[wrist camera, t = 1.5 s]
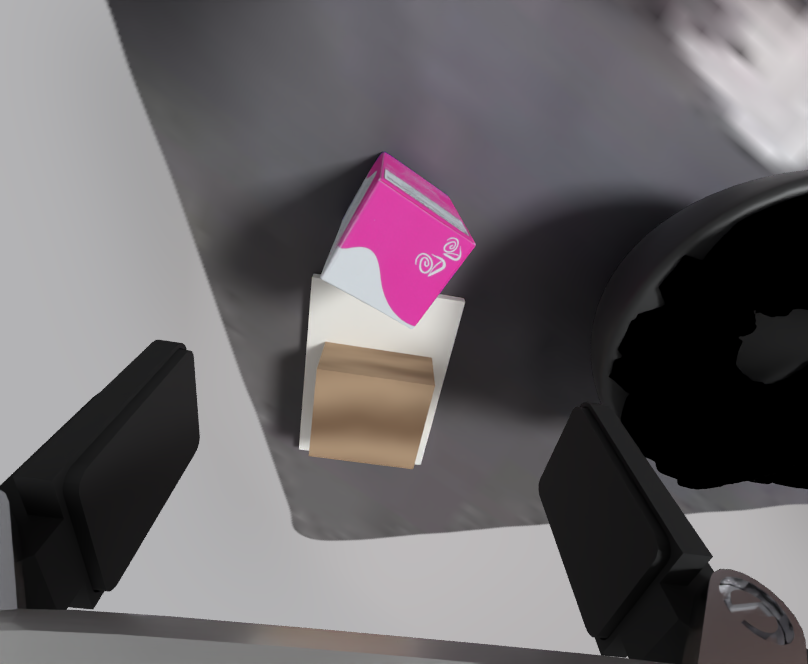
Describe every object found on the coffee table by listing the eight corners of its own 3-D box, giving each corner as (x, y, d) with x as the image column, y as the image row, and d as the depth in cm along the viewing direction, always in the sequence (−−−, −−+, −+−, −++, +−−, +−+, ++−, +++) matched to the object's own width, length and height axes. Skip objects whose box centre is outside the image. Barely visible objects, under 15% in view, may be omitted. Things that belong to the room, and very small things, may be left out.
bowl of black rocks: (880, 222, 31) (1433, 362, 14) (686, 415, 39) (889, 640, 23) (666, 93, 27) (1092, 80, 10) (504, 340, 35) (592, 547, 19)
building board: (313, 273, 32) (311, 277, 32) (463, 298, 34) (465, 302, 33) (300, 443, 41) (298, 449, 40) (420, 458, 42) (420, 464, 41)
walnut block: (325, 341, 35) (316, 368, 31) (432, 357, 35) (435, 385, 32) (317, 424, 39) (308, 455, 35) (412, 436, 40) (413, 469, 36)
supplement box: (408, 262, 32) (411, 335, 22) (341, 219, 30) (310, 277, 20) (453, 197, 30) (479, 245, 20) (383, 147, 28) (372, 172, 18)
